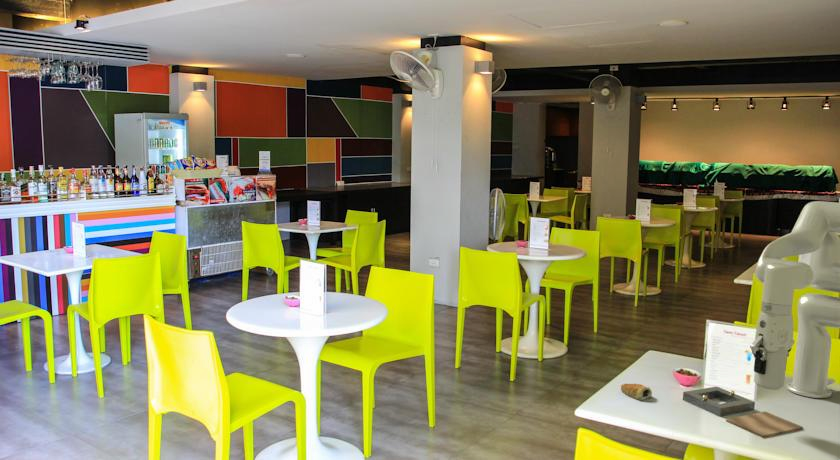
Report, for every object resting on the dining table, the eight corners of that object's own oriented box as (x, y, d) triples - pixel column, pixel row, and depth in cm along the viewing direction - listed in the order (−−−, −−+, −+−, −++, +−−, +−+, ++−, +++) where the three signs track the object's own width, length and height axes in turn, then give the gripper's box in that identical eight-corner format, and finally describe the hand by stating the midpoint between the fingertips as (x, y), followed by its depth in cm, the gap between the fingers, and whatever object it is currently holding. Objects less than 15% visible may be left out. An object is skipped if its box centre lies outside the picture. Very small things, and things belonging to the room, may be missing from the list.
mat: (765, 413, 209) (765, 411, 209) (802, 429, 199) (803, 427, 199) (726, 421, 202) (726, 419, 202) (762, 437, 192) (763, 435, 192)
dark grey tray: (715, 394, 224) (716, 383, 224) (754, 410, 212) (755, 398, 211) (682, 399, 218) (683, 388, 218) (720, 416, 206) (721, 404, 205)
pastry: (615, 392, 223) (616, 380, 223) (629, 388, 227) (630, 377, 227) (639, 401, 216) (640, 389, 215) (654, 398, 219) (655, 386, 219)
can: (757, 389, 196) (761, 346, 195) (750, 380, 203) (754, 339, 202) (786, 392, 195) (791, 349, 193) (778, 383, 202) (783, 341, 200)
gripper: (766, 314, 189) (759, 379, 191) (810, 309, 197) (803, 372, 199) (742, 307, 196) (736, 370, 198) (785, 303, 203) (779, 364, 206)
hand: (769, 371), depth 199 cm, fingers closed on can, 7 cm apart
